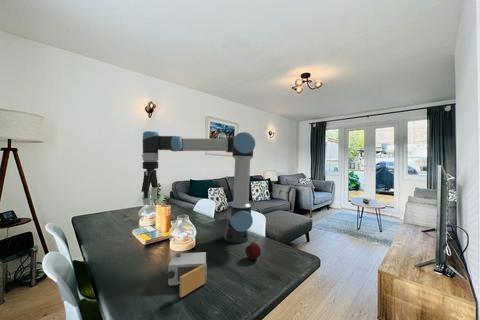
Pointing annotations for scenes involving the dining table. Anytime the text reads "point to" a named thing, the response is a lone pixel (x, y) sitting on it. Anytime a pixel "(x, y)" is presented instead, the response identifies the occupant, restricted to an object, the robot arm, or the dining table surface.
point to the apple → (253, 251)
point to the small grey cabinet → (184, 265)
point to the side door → (193, 280)
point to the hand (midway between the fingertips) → (150, 202)
